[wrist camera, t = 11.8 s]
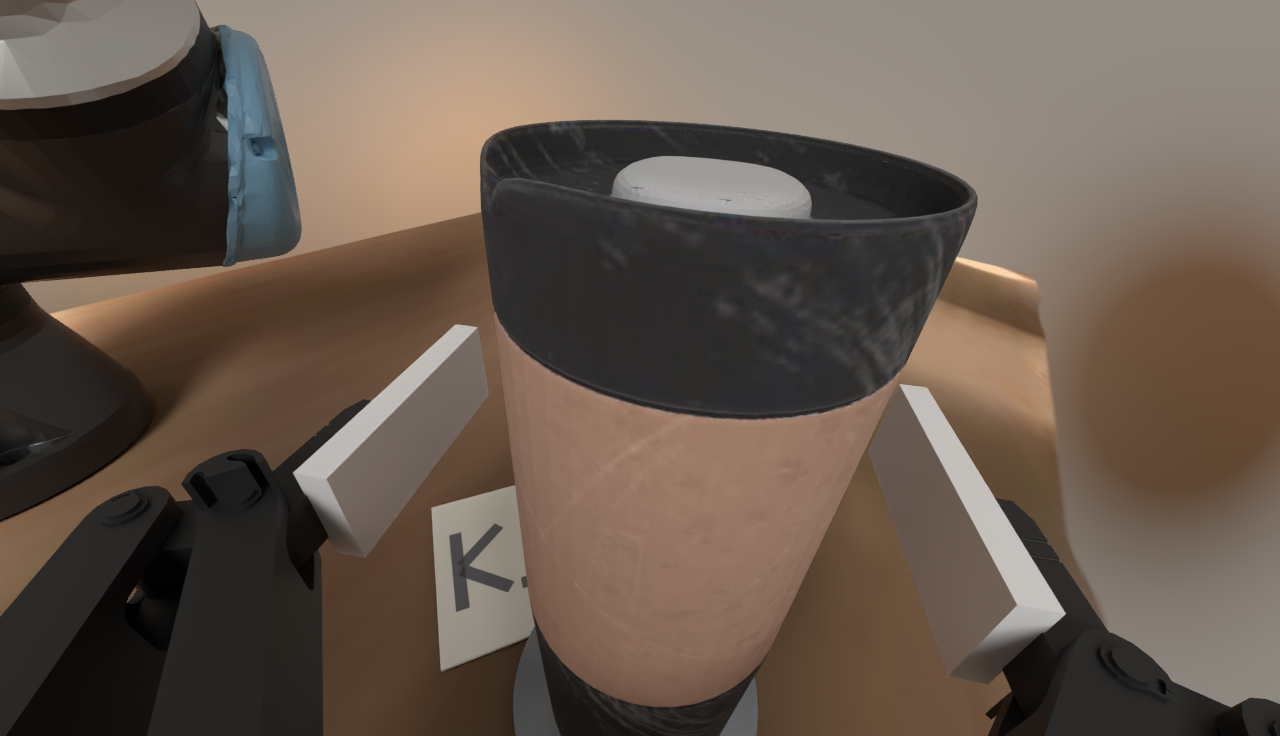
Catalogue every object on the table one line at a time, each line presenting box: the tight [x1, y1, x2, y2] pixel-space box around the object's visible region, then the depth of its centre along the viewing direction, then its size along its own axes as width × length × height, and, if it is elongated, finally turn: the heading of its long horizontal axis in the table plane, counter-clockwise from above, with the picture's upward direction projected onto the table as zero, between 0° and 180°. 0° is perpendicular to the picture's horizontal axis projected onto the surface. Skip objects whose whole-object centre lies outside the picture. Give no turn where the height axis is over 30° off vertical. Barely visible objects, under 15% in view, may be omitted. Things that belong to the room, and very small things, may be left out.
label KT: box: [431, 485, 535, 672], centre depth 24 cm, size 9×7×1 cm
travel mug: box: [480, 120, 977, 736], centre depth 13 cm, size 8×8×20 cm
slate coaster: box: [513, 627, 758, 736], centre depth 19 cm, size 10×10×1 cm
